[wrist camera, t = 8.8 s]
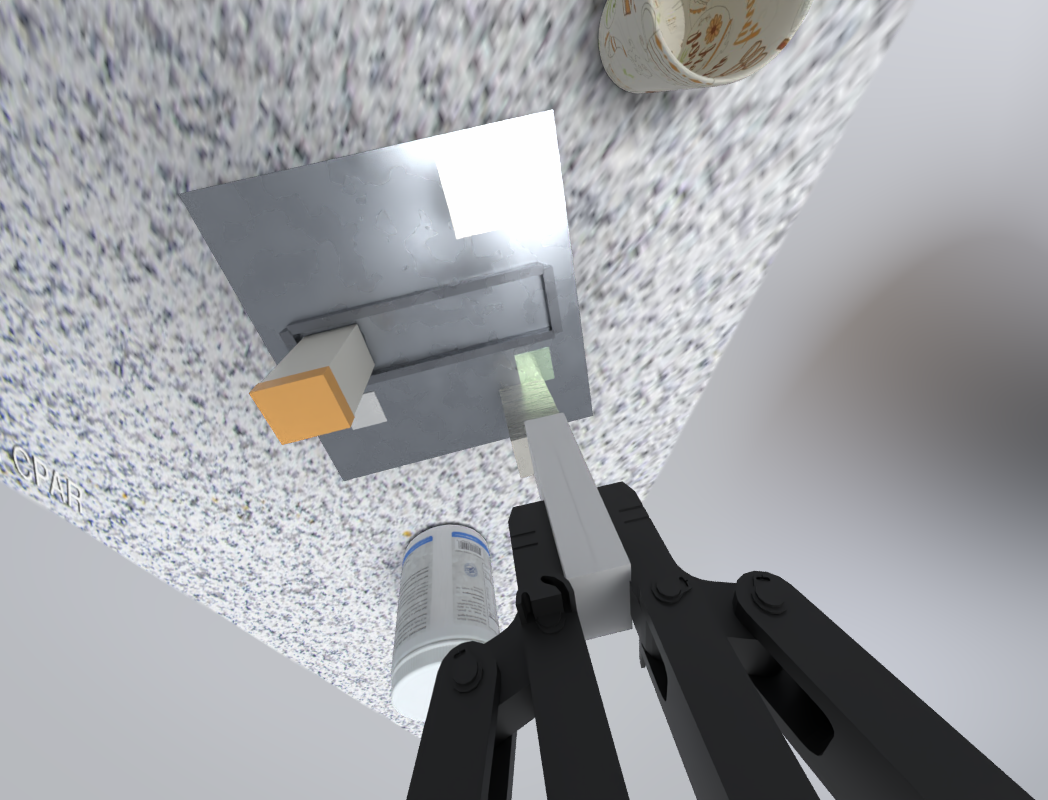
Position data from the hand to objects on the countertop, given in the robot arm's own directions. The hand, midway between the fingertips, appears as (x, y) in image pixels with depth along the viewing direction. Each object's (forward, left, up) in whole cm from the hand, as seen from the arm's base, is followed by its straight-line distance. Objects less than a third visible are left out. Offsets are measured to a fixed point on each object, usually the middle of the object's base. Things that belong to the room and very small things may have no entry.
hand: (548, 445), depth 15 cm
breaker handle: (-9, -9, -19) cm, 22 cm away
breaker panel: (-4, -4, -20) cm, 21 cm away
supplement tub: (+10, -27, -20) cm, 35 cm away
